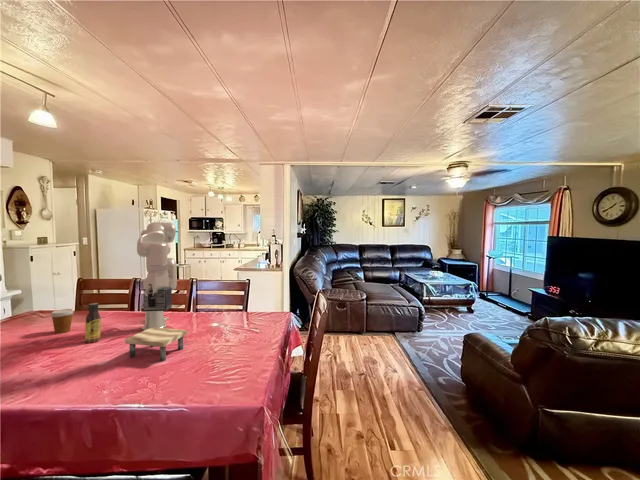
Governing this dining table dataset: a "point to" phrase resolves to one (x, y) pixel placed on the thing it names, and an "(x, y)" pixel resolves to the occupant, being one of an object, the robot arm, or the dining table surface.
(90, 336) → the sauce bottle
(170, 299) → the small box
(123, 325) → the dining table surface
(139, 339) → the peg shelf
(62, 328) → the disposable coffee cup
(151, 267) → the robot arm
